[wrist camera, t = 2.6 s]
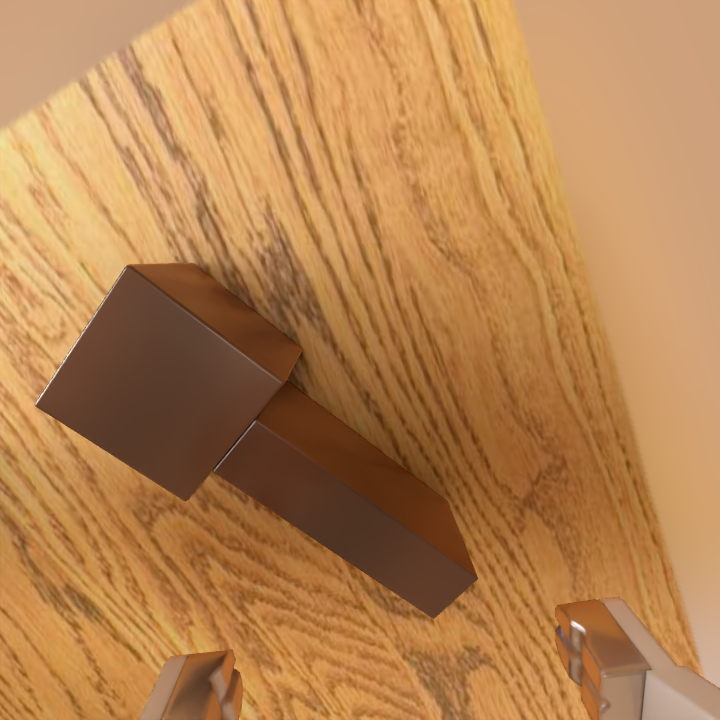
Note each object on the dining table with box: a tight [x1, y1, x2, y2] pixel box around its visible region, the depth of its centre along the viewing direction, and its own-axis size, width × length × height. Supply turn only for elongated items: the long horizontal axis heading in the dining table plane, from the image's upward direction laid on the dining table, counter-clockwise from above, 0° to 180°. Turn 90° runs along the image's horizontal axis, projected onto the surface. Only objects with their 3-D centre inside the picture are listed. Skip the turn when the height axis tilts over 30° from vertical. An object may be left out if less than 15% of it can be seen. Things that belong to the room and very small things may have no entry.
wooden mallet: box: [35, 263, 478, 618], centre depth 13 cm, size 14×5×4 cm, turn 50°
